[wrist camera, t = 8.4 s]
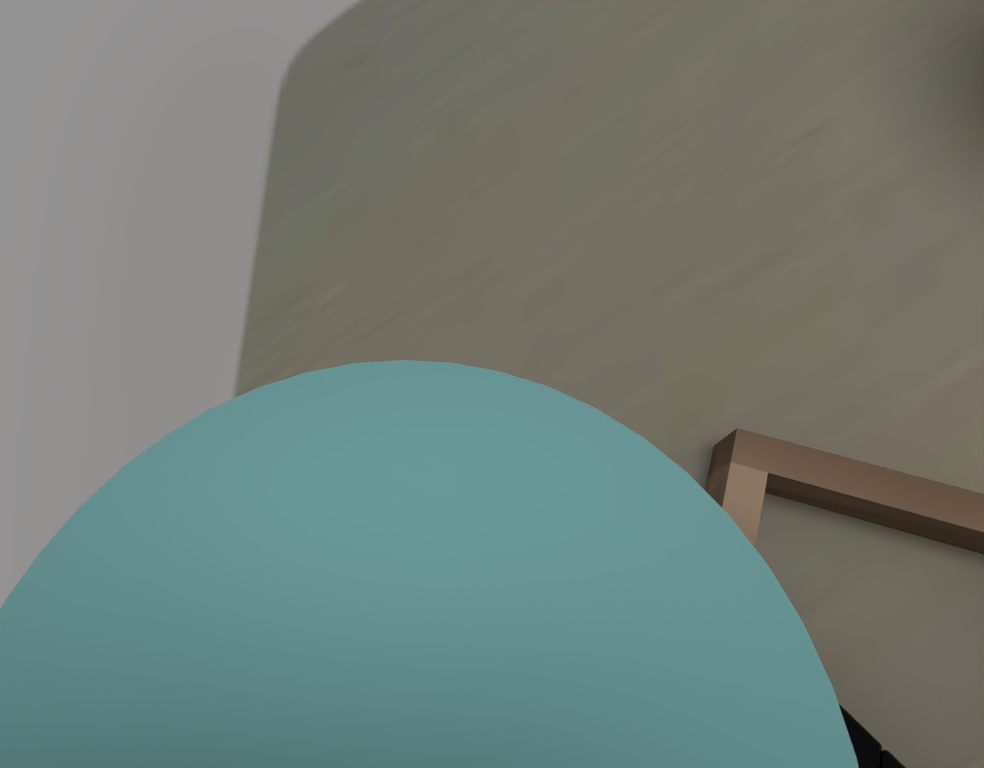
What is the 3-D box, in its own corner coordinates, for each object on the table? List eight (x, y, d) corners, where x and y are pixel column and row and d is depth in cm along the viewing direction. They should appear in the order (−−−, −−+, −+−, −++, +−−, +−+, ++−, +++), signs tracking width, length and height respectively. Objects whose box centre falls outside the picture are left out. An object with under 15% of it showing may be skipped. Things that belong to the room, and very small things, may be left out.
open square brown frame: (1058, 953, 14) (1149, 1018, 12) (644, 798, 16) (661, 831, 14) (1064, 541, 17) (1138, 535, 15) (714, 445, 18) (737, 428, 16)
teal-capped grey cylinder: (447, 816, 14) (14, 1989, 2) (350, 591, 15) (-169, 605, 4) (652, 688, 14) (1138, 1103, 3) (535, 486, 16) (541, 237, 5)
